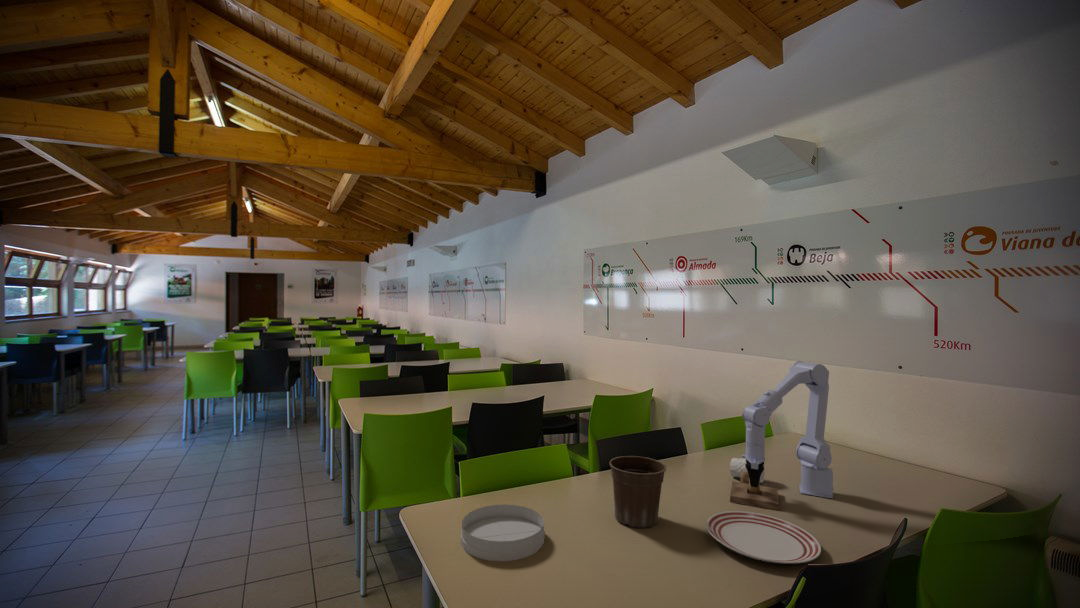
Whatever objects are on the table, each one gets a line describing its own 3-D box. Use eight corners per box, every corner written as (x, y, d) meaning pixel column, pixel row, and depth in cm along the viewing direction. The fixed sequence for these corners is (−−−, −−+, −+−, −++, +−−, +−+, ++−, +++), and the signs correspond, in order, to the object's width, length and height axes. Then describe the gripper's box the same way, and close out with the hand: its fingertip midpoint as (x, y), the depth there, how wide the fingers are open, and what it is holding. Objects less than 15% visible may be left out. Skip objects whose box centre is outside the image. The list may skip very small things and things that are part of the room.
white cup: (731, 483, 177) (761, 487, 171) (727, 465, 175) (757, 469, 169) (737, 468, 183) (765, 473, 177) (733, 451, 181) (762, 455, 174)
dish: (466, 568, 114) (466, 546, 114) (455, 526, 136) (456, 508, 136) (555, 555, 121) (556, 535, 121) (532, 517, 142) (532, 500, 142)
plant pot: (644, 504, 152) (645, 453, 152) (677, 527, 137) (678, 469, 137) (598, 511, 146) (599, 458, 146) (627, 536, 131) (628, 476, 131)
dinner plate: (821, 537, 133) (821, 525, 133) (820, 586, 109) (820, 572, 109) (716, 513, 147) (716, 502, 147) (695, 553, 123) (695, 540, 123)
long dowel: (759, 492, 160) (759, 470, 160) (759, 495, 157) (760, 473, 157) (748, 490, 161) (749, 469, 161) (748, 493, 158) (749, 472, 158)
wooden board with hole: (777, 494, 162) (777, 488, 162) (778, 510, 149) (778, 503, 149) (732, 487, 168) (732, 481, 168) (730, 501, 155) (730, 495, 155)
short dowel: (750, 483, 172) (750, 472, 172) (750, 486, 169) (750, 475, 169) (740, 482, 173) (740, 471, 173) (740, 485, 170) (740, 473, 170)
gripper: (742, 436, 167) (742, 475, 167) (741, 447, 154) (740, 490, 154) (765, 438, 164) (764, 479, 164) (765, 450, 151) (764, 494, 151)
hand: (754, 484), depth 159 cm, fingers closed on long dowel, 3 cm apart
